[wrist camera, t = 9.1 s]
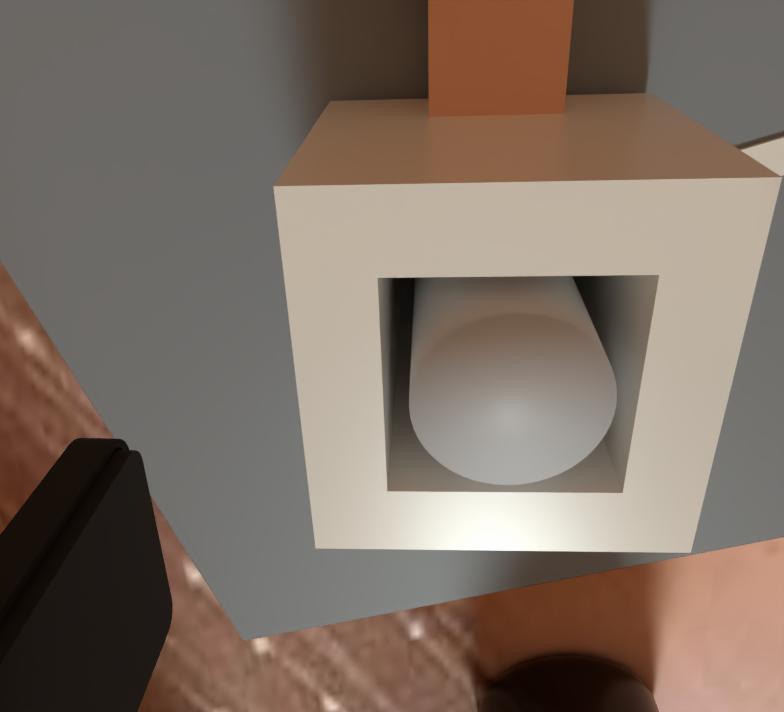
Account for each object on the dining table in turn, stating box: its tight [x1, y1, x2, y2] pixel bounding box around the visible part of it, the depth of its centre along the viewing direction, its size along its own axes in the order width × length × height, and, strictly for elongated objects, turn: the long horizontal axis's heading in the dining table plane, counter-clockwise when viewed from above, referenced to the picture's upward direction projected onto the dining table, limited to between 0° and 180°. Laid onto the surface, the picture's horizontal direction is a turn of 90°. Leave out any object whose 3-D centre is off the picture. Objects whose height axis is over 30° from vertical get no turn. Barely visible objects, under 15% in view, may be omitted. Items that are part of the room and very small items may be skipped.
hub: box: [273, 0, 782, 553], centre depth 12 cm, size 11×6×6 cm, turn 2°
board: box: [0, 0, 784, 641], centre depth 14 cm, size 22×22×9 cm
